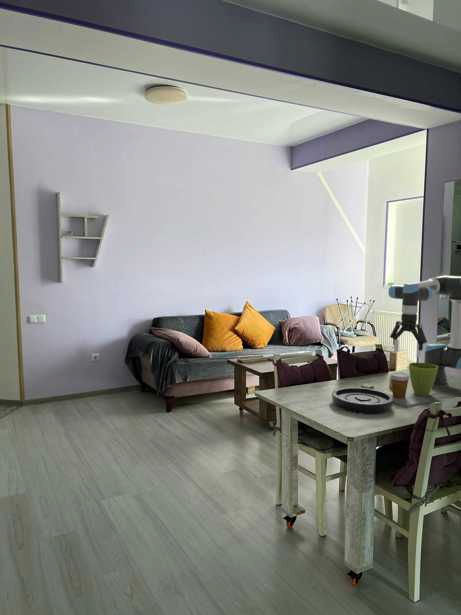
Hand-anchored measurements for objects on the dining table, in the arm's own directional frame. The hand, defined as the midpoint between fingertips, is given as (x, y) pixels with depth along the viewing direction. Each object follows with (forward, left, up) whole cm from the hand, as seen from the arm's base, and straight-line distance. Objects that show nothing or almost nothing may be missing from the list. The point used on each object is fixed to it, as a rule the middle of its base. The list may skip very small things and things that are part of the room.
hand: (407, 354), depth 247 cm
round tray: (+26, -6, -25) cm, 37 cm away
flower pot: (-19, -3, -25) cm, 31 cm away
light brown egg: (-16, -19, -25) cm, 35 cm away
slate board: (0, 0, -25) cm, 25 cm away
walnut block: (+8, -18, -25) cm, 32 cm away
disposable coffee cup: (0, -4, -24) cm, 24 cm away
